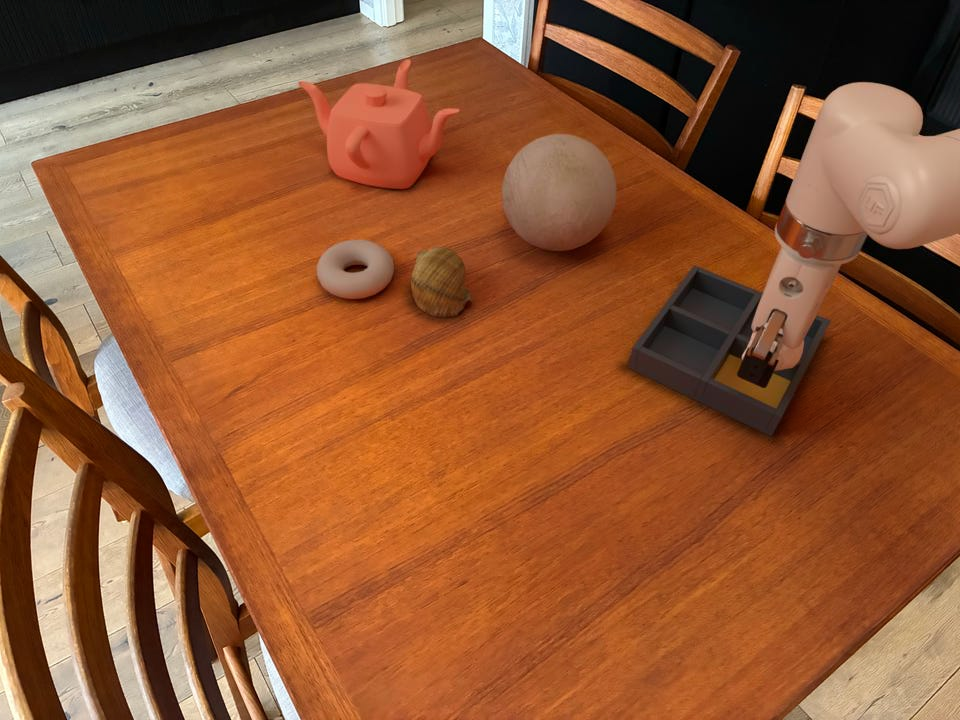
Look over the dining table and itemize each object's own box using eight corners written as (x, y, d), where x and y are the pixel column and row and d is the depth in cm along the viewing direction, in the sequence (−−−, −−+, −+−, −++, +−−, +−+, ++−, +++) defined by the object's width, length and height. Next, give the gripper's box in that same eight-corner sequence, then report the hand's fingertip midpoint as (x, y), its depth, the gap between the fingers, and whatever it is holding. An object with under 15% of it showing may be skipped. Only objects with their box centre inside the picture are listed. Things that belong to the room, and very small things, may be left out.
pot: (418, 125, 121) (414, 51, 111) (461, 180, 110) (460, 104, 101) (310, 150, 115) (296, 75, 106) (344, 211, 105) (331, 133, 96)
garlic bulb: (722, 363, 80) (735, 328, 76) (759, 341, 82) (774, 306, 78) (761, 395, 77) (776, 361, 73) (798, 371, 79) (815, 336, 75)
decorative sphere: (536, 287, 94) (544, 191, 83) (481, 224, 103) (482, 129, 92) (629, 253, 99) (649, 157, 88) (569, 195, 108) (581, 101, 97)
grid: (820, 341, 89) (831, 320, 86) (771, 437, 79) (781, 417, 76) (687, 285, 95) (694, 264, 92) (627, 367, 85) (632, 347, 83)
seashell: (464, 328, 95) (497, 278, 93) (440, 331, 89) (475, 276, 86) (410, 286, 98) (440, 236, 95) (383, 285, 91) (415, 231, 89)
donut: (354, 245, 100) (302, 283, 94) (351, 224, 98) (297, 263, 92) (410, 273, 96) (359, 315, 91) (409, 253, 94) (356, 295, 88)
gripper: (836, 296, 59) (770, 428, 72) (889, 193, 69) (822, 326, 82) (747, 262, 62) (699, 395, 75) (810, 168, 72) (758, 300, 85)
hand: (764, 358), depth 78 cm, fingers closed on garlic bulb, 6 cm apart
